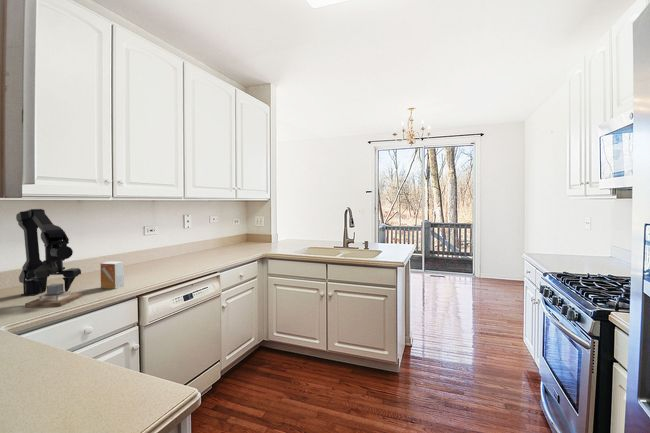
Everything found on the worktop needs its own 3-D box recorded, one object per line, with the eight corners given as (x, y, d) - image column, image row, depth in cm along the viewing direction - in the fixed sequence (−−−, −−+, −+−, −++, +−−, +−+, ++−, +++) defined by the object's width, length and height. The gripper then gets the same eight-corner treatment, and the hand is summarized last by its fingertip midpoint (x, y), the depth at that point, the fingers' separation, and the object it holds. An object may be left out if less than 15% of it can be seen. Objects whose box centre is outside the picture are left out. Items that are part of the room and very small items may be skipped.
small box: (100, 288, 160) (99, 263, 159) (110, 285, 166) (109, 260, 165) (115, 289, 159) (114, 263, 158) (124, 285, 165) (123, 261, 164)
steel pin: (47, 299, 137) (46, 286, 137) (54, 296, 141) (53, 283, 141) (56, 299, 137) (56, 285, 137) (63, 296, 141) (63, 283, 141)
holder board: (25, 307, 132) (24, 298, 131) (50, 296, 145) (50, 289, 145) (61, 306, 133) (60, 298, 133) (83, 296, 147) (82, 288, 147)
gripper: (14, 260, 129) (16, 298, 130) (63, 260, 131) (64, 297, 132) (36, 256, 140) (38, 290, 141) (81, 255, 142) (82, 289, 143)
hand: (55, 291), depth 139 cm, fingers open, 9 cm apart
